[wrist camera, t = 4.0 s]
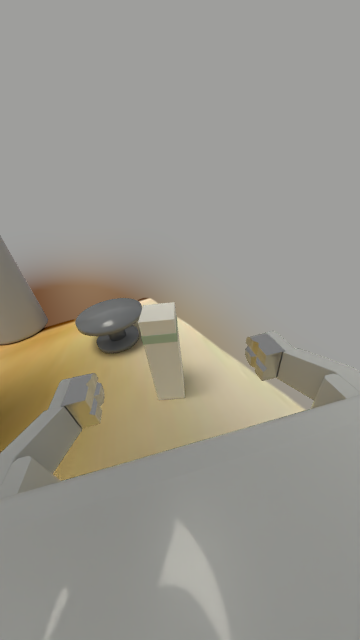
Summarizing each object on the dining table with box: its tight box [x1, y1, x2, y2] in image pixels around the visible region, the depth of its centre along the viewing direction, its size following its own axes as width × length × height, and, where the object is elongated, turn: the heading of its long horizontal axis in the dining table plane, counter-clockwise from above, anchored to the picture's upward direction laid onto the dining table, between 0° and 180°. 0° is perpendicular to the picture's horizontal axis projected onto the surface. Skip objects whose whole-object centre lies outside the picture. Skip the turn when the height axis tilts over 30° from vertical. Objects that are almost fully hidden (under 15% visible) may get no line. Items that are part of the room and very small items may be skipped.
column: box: [138, 302, 185, 400], centre depth 26 cm, size 4×4×14 cm
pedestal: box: [76, 298, 142, 353], centre depth 40 cm, size 13×13×7 cm
